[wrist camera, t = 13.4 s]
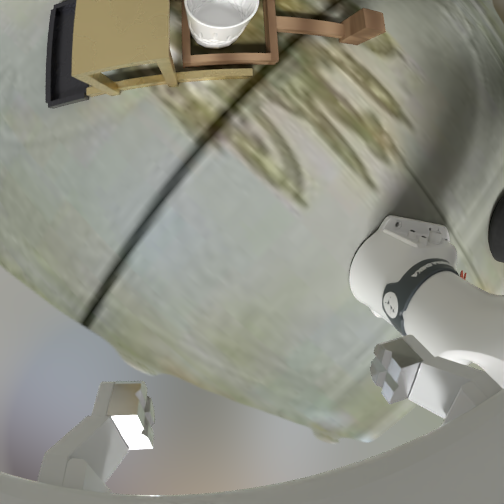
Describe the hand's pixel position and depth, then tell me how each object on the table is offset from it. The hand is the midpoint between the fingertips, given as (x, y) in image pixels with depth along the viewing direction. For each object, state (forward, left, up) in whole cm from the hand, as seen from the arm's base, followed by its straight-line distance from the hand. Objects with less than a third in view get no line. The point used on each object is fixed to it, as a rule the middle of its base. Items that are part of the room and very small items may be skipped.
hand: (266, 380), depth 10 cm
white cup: (-2, -24, -34) cm, 42 cm away
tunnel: (+8, -24, -34) cm, 42 cm away
